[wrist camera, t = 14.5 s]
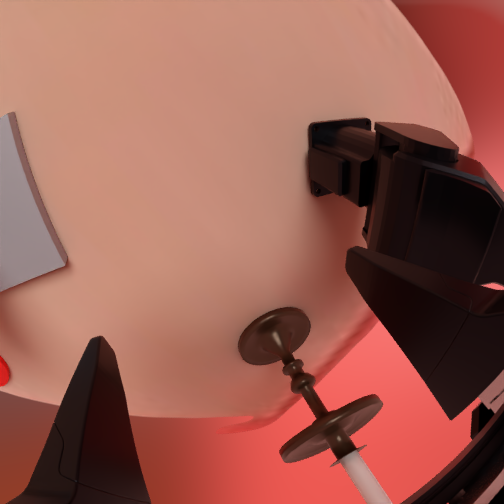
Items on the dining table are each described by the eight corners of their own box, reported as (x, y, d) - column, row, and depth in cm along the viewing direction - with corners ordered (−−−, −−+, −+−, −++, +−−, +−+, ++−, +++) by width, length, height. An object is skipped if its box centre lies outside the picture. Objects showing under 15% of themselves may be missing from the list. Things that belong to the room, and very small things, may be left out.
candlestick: (240, 374, 35) (365, 593, 8) (220, 325, 29) (391, 622, 1) (313, 342, 37) (451, 537, 10) (313, 286, 31) (505, 534, 4)
